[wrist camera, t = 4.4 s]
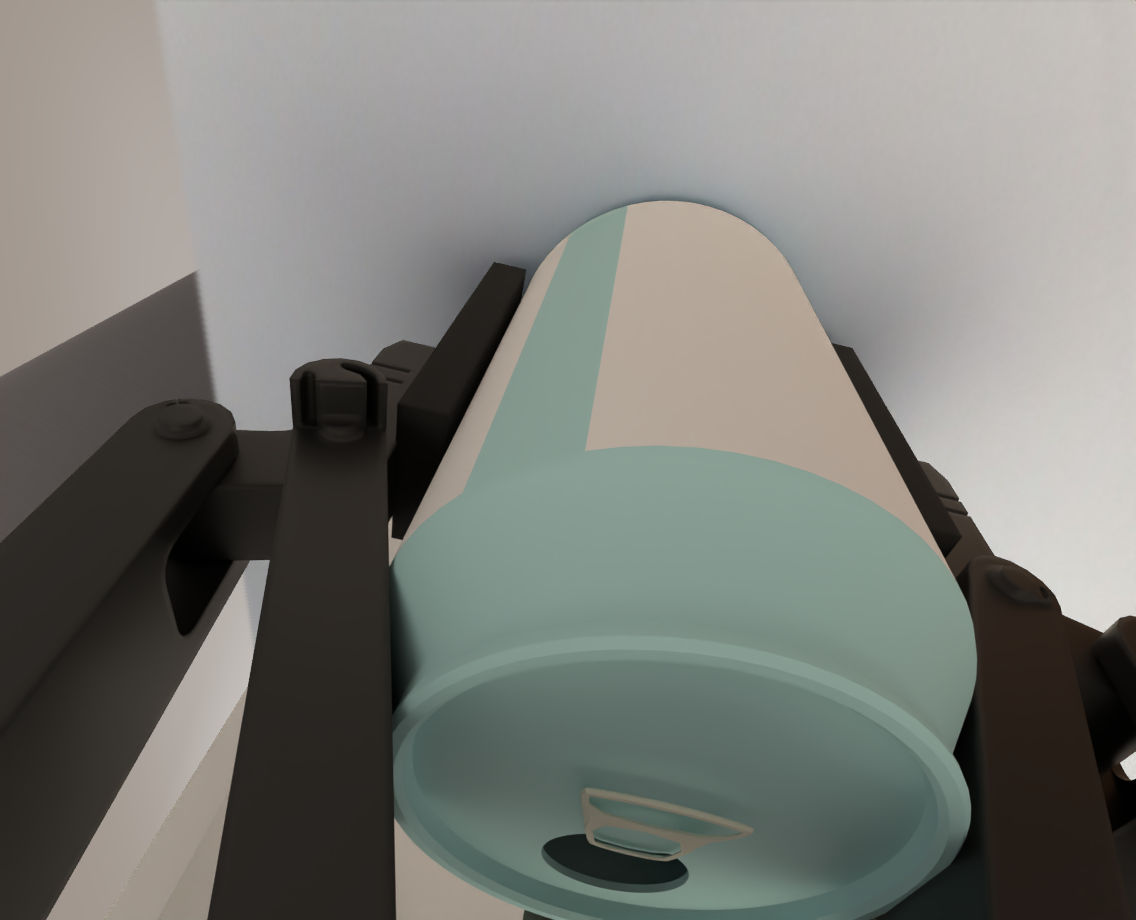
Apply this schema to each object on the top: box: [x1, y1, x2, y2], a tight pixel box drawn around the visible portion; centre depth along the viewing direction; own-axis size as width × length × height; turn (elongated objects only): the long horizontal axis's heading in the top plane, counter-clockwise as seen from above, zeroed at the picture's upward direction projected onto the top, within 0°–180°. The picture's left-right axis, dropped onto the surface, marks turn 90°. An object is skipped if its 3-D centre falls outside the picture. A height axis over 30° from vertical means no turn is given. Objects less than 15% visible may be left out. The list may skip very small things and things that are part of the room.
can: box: [389, 201, 977, 920], centre depth 11 cm, size 7×7×12 cm
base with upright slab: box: [104, 518, 524, 920], centre depth 18 cm, size 9×9×12 cm
